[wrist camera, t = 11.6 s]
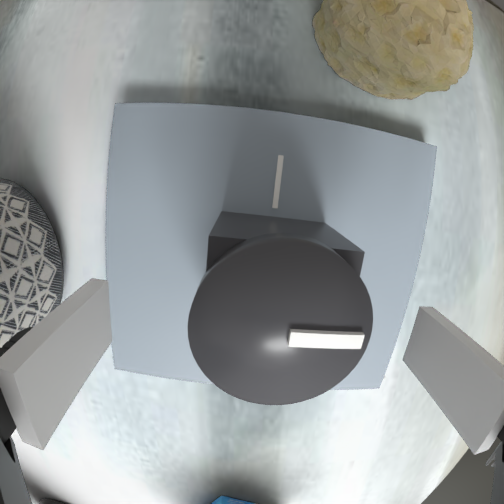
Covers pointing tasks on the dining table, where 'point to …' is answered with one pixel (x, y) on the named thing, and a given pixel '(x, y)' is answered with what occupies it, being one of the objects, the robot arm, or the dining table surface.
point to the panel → (251, 202)
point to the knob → (279, 309)
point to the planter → (26, 262)
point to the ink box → (229, 501)
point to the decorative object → (396, 44)
